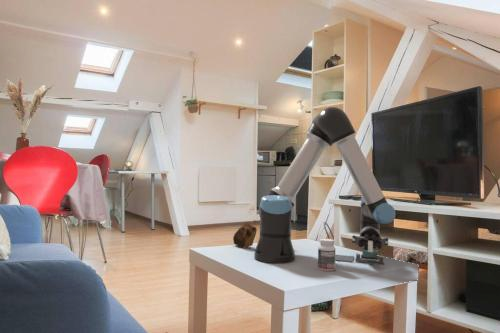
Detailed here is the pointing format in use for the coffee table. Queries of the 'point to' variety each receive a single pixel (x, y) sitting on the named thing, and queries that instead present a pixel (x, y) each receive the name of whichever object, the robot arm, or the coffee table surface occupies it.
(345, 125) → the robot arm
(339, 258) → the coaster
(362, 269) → the coffee table surface
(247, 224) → the decorative rock
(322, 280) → the coffee table surface
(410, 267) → the coffee table surface
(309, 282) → the coffee table surface
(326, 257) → the pill bottle
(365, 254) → the switch paddle
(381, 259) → the switch base
